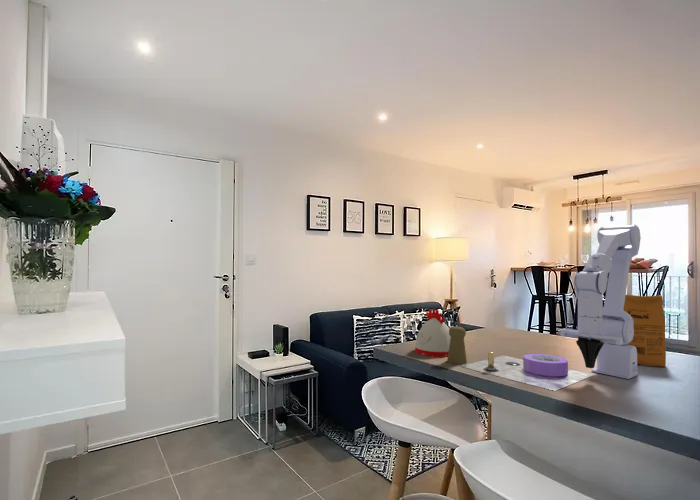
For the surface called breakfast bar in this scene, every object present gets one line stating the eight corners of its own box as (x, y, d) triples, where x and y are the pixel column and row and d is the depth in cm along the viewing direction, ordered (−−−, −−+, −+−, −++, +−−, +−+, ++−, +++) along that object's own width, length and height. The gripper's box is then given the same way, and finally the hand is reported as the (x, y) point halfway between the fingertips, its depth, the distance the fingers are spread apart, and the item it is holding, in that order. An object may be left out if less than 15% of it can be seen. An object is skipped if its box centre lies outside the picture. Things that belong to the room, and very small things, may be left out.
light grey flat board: (594, 375, 111) (594, 374, 111) (554, 391, 97) (554, 390, 97) (503, 355, 134) (503, 355, 134) (459, 366, 119) (459, 365, 119)
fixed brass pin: (498, 370, 115) (498, 352, 115) (492, 371, 113) (492, 354, 113) (489, 367, 117) (489, 351, 117) (484, 369, 115) (484, 352, 115)
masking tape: (514, 366, 119) (514, 354, 119) (548, 365, 121) (548, 352, 122) (541, 378, 107) (541, 364, 108) (577, 376, 110) (577, 362, 110)
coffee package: (615, 357, 134) (615, 292, 135) (661, 362, 128) (660, 294, 129) (619, 363, 125) (619, 294, 126) (668, 369, 120) (668, 296, 120)
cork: (451, 358, 129) (451, 324, 129) (469, 361, 125) (469, 326, 125) (444, 362, 124) (444, 327, 124) (463, 365, 120) (463, 329, 120)
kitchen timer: (434, 346, 147) (434, 306, 148) (464, 353, 136) (464, 310, 136) (407, 350, 139) (407, 308, 140) (435, 358, 128) (436, 312, 129)
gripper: (555, 314, 109) (555, 363, 108) (615, 320, 97) (615, 376, 97) (566, 312, 113) (566, 360, 113) (625, 318, 102) (625, 371, 101)
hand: (590, 367), depth 105 cm, fingers closed
